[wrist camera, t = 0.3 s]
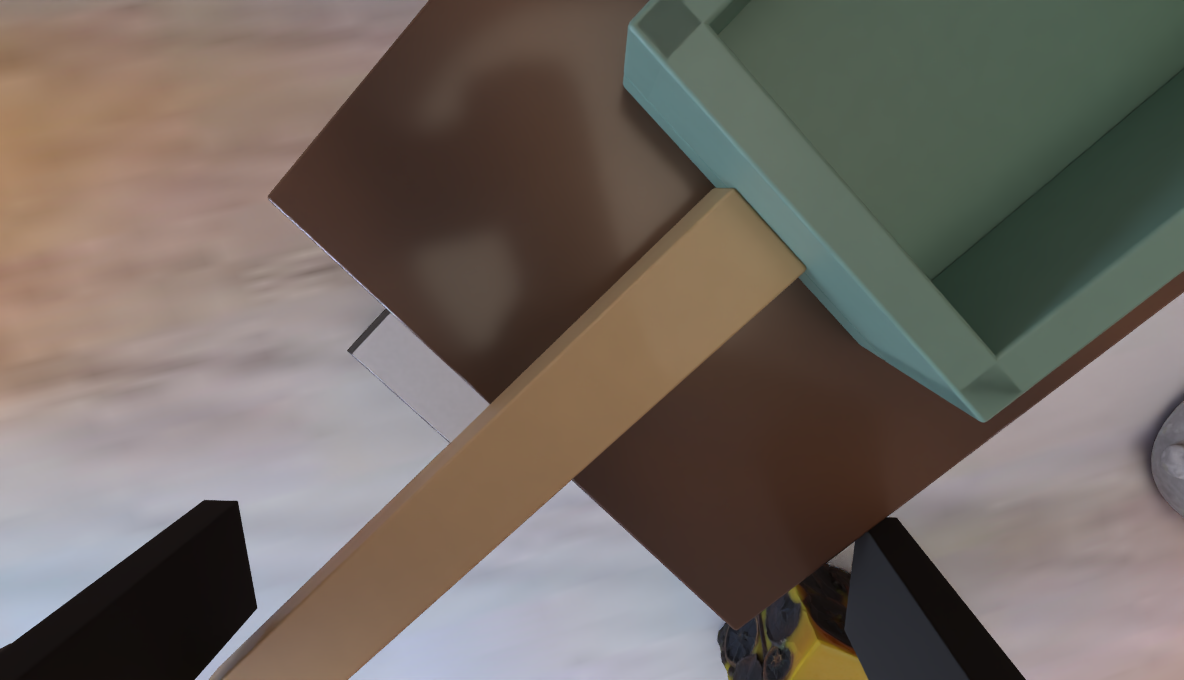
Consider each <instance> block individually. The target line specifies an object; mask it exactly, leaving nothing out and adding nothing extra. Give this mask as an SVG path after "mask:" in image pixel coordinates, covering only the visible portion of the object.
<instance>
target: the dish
mask: <svg viewBox="0 0 1184 680" xmlns="http://www.w3.org/2000/svg"><path fill="white" fill-rule="evenodd" d="M1151 464H1152V474H1153V477H1154V480H1155V483H1156V486H1157V488H1158V490H1159V491H1160V493H1161V494H1162V496H1163V497H1164V499H1165V500H1166V501H1167V502H1168V503H1169V505H1170V506H1171V507H1172V508H1173V509H1174V510H1175V511H1176V512H1178V513H1179V514H1180V515H1181V516H1182V517H1183V518H1184V400H1183V402H1182V403H1181V404H1180V405H1179V406H1178V407H1177V408H1176V409H1175V410H1174V411H1173V412H1172V414H1171V415H1170V416H1169V417H1168V419H1167V420H1166V421H1165V423H1164V424H1163V426H1162V428H1161V430H1160V431H1159V433H1158V435H1157V438H1156V440H1155V442H1154V445H1153V450H1152V456H1151Z"/></svg>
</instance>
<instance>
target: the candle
mask: <svg viewBox="0 0 1184 680" xmlns="http://www.w3.org/2000/svg"><path fill="white" fill-rule="evenodd" d="M850 579H851V575H850V574H848V573H846V572H844V571H842V570H840V569H837V568H833V567H830V566H829V565H828V564H824V565H823V566H821V567H820V568H819V569H818V570H816V571H815V572H814V573H812V574H811V575H810V576H808V577H807V578H806V579H804V580H803V581H802V582H800V583H799V584H798V585H796V586H795V587H794V588H792V589H791V590H790V591H789V592H787V593H786V594H785V595H783V596H782V597H781V598H779V599H778V600H777V601H775V602H774V603H773V604H771V605H770V606H769V607H767V608H766V609H765V610H763V611H762V612H761V613H759V614H758V615H757V616H756V617H754V618H753V619H752V620H750V621H749V622H748V623H746V624H745V625H744V626H742V627H741V628H740V629H738V630H734V629H733V628H731V627H730V626H729V625H728V624H727V623H725V625H724V627H723V628H722V629H721V630H720V631H719V633H718V643H719V645H720V649H721V659H722V663H723V664H724V666H725V668H726V670H727V674H728V679H729V680H868V678H867V676H866V674H865V672H864V670H863V667H862V665H861V663H860V661H859V659H858V657H857V655H856V653H855V651H854V649H853V647H852V645H851V642H850V640H849V638H848V636H847V634H846V632H845V630H844V628H845V620H846V612H847V603H848V595H849V587H850Z"/></svg>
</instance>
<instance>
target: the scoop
mask: <svg viewBox="0 0 1184 680" xmlns="http://www.w3.org/2000/svg"><path fill="white" fill-rule="evenodd" d="M623 85H624V87H625V89H626V90H627V91H628V92H629V93H630V94H631V95H632V96H633V97H634V98H635V99H636V101H637V102H638V103H639V104H640V105H641V106H642V107H643V108H644V109H645V110H646V111H647V113H648V114H649V115H650V116H651V117H652V118H653V119H654V120H655V121H656V122H657V124H658V125H659V126H660V127H661V128H662V129H663V130H664V131H665V132H666V133H667V134H668V136H669V137H670V138H671V139H672V140H673V141H674V142H675V143H676V144H677V145H678V146H679V148H680V149H681V150H682V151H683V152H684V153H685V154H686V155H687V156H688V157H689V159H690V160H691V161H692V162H693V163H694V164H695V165H696V166H697V167H698V168H699V169H700V171H701V172H702V173H703V174H704V175H705V176H706V177H707V178H708V179H709V180H710V181H711V183H712V184H713V185H714V186H715V187H716V188H714V189H712V190H711V191H710V192H709V193H708V194H707V195H706V196H705V197H704V198H703V199H702V200H701V201H700V202H699V203H697V204H696V205H695V206H694V207H693V208H692V209H691V210H690V211H689V212H688V213H687V214H686V215H685V216H684V217H683V218H682V219H681V220H680V221H679V222H678V223H677V224H676V225H675V226H674V227H673V228H672V229H671V230H670V231H669V232H668V233H667V234H665V235H664V236H663V237H662V238H661V239H660V240H659V241H658V242H657V243H656V244H655V245H654V246H653V247H652V248H651V249H650V250H649V251H648V252H647V253H646V254H645V255H644V256H643V257H642V258H641V259H640V260H639V261H638V262H637V263H636V264H635V265H633V266H632V267H631V268H630V269H629V270H628V271H627V272H626V273H625V274H624V275H623V276H622V277H621V278H620V279H619V280H618V281H617V282H616V283H615V284H614V285H613V286H612V287H611V288H610V289H609V290H608V291H607V292H606V293H605V294H604V295H603V296H601V297H600V298H599V299H598V300H597V301H596V302H595V303H594V304H593V305H592V306H591V307H590V308H589V309H588V310H587V311H586V312H585V313H584V314H583V315H582V316H581V317H580V318H579V319H578V320H577V321H576V322H575V323H574V324H573V325H572V326H571V327H569V328H568V329H567V330H566V331H565V332H564V333H563V334H562V335H561V336H560V337H559V338H558V339H557V340H556V341H555V342H554V343H553V344H552V345H551V346H550V347H549V348H548V349H547V350H546V351H545V352H544V353H543V354H542V355H541V356H540V357H539V358H538V359H536V360H535V361H534V362H533V363H532V364H531V365H530V366H529V367H528V368H527V369H526V370H525V371H524V372H523V373H522V374H521V375H520V376H519V377H518V378H517V379H516V380H515V381H514V382H513V383H512V384H511V385H510V386H509V387H508V388H507V389H506V390H504V391H503V392H502V393H501V394H500V395H499V396H498V397H497V398H496V399H495V400H494V401H493V402H492V403H491V404H490V405H489V406H488V407H487V408H486V409H485V410H484V411H483V412H482V413H481V414H480V415H479V416H478V417H477V418H476V419H475V420H474V421H472V422H471V423H470V424H469V425H468V426H467V427H466V428H465V429H464V430H463V431H462V432H461V433H460V434H459V435H458V436H457V437H456V438H455V439H454V440H453V441H452V442H451V443H450V444H449V445H448V446H447V447H446V448H445V449H444V450H443V451H442V452H440V453H439V454H438V455H437V456H436V457H435V458H434V459H433V460H432V461H431V462H430V463H429V464H428V465H427V466H426V467H425V468H424V469H423V470H422V471H421V472H420V473H419V474H418V475H417V476H416V477H415V478H414V479H413V480H412V481H411V482H410V483H409V484H407V485H406V486H405V487H404V488H403V489H402V490H401V491H400V492H399V493H398V494H397V495H396V496H395V497H394V498H393V499H392V500H391V501H390V502H389V503H388V504H387V505H386V506H385V507H384V508H383V509H382V510H381V511H380V512H379V513H378V514H377V515H375V516H374V517H373V518H372V519H371V520H370V521H369V522H368V523H367V524H366V525H365V526H364V527H363V528H362V529H361V530H360V531H359V532H358V533H357V534H356V535H355V536H354V537H353V538H352V539H351V540H350V541H349V542H348V543H347V544H346V545H345V546H343V547H342V548H341V549H340V550H339V551H338V552H337V553H336V554H335V555H334V556H333V557H332V558H331V559H330V560H329V561H328V562H327V563H326V564H325V565H324V566H323V567H322V568H321V569H320V570H319V571H318V572H317V573H316V574H315V575H314V576H313V577H311V578H310V579H309V580H308V581H307V582H306V583H305V584H304V585H303V586H302V587H301V588H300V589H299V590H298V591H297V592H296V593H295V594H294V595H293V596H292V597H291V598H290V599H289V600H288V601H287V602H286V603H285V604H284V605H283V606H282V607H281V608H280V609H278V610H277V611H276V612H275V613H274V614H273V615H272V616H271V617H270V618H269V619H268V620H267V621H266V622H265V623H264V624H263V625H262V626H261V627H260V628H259V629H258V630H257V631H256V632H255V633H254V634H253V635H252V636H251V637H250V638H249V639H248V640H246V641H245V642H244V643H243V644H242V645H241V646H240V647H239V648H238V649H237V650H236V651H235V652H234V653H233V654H232V655H231V656H230V657H229V658H228V659H227V660H226V661H225V662H224V663H223V664H222V665H221V666H220V667H219V668H218V669H217V670H216V671H215V672H214V674H213V675H212V676H211V677H210V679H209V680H348V679H349V678H350V677H351V676H352V675H354V674H355V673H356V672H357V671H358V670H359V669H360V668H361V667H363V666H364V665H365V664H366V663H367V662H368V661H369V660H370V659H372V658H373V657H374V656H375V655H376V654H377V653H378V652H379V651H380V650H382V649H383V648H384V647H385V646H386V645H387V644H388V643H389V642H391V641H392V640H393V639H394V638H395V637H396V636H397V635H398V634H399V633H401V632H402V631H403V630H404V629H405V628H406V627H407V626H408V625H410V624H411V623H412V622H413V621H414V620H415V619H416V618H417V617H419V616H420V615H421V614H422V613H423V612H424V611H425V610H426V609H427V608H429V607H430V606H431V605H432V604H433V603H434V602H435V601H436V600H438V599H439V598H440V597H441V596H442V595H443V594H444V593H445V592H447V591H448V590H449V589H450V588H451V587H452V586H453V585H454V584H455V583H457V582H458V581H459V580H460V579H461V578H462V577H463V576H464V575H466V574H467V573H468V572H469V571H470V570H471V569H472V568H473V567H475V566H476V565H477V564H478V563H479V562H480V561H481V560H482V559H483V558H485V557H486V556H487V555H488V554H489V553H490V552H491V551H492V550H494V549H495V548H496V547H497V546H498V545H499V544H500V543H501V542H502V541H504V540H505V539H506V538H507V537H508V536H509V535H510V534H511V533H513V532H514V531H515V530H516V529H517V528H518V527H519V526H520V525H522V524H523V523H524V522H525V521H526V520H527V519H528V518H529V517H530V516H532V515H533V514H534V513H535V512H536V511H537V510H538V509H539V508H541V507H542V506H543V505H544V504H545V503H546V502H547V501H548V500H550V499H551V498H552V497H553V496H554V495H555V494H556V493H557V492H558V491H560V490H561V489H562V488H563V487H564V486H565V485H566V484H567V483H569V482H570V481H571V480H572V479H573V478H574V477H575V476H576V475H577V474H579V473H580V472H581V471H582V470H583V469H584V468H585V467H586V466H588V465H589V464H590V463H591V462H592V461H593V460H594V459H595V458H597V457H598V456H599V455H600V454H601V453H602V452H603V451H604V450H605V449H607V448H608V447H609V446H610V445H611V444H612V443H613V442H614V441H616V440H617V439H618V438H619V437H620V436H621V435H622V434H623V433H625V432H626V431H627V430H628V429H629V428H630V427H631V426H632V425H633V424H635V423H636V422H637V421H638V420H639V419H640V418H641V417H642V416H644V415H645V414H646V413H647V412H648V411H649V410H650V409H651V408H653V407H654V406H655V405H656V404H657V403H658V402H659V401H660V400H661V399H663V398H664V397H665V396H666V395H667V394H668V393H669V392H670V391H672V390H673V389H674V388H675V387H676V386H677V385H678V384H679V383H680V382H682V381H683V380H684V379H685V378H686V377H687V376H688V375H689V374H691V373H692V372H693V371H694V370H695V369H696V368H697V367H698V366H700V365H701V364H702V363H703V362H704V361H705V360H706V359H707V358H708V357H710V356H711V355H712V354H713V353H714V352H715V351H716V350H717V349H719V348H720V347H721V346H722V345H723V344H724V343H725V342H726V341H728V340H729V339H730V338H731V337H732V336H733V335H734V334H735V333H736V332H738V331H739V330H740V329H741V328H742V327H743V326H744V325H745V324H747V323H748V322H749V321H750V320H751V319H752V318H753V317H754V316H755V315H757V314H758V313H759V312H760V311H761V310H762V309H763V308H764V307H766V306H767V305H768V304H769V303H770V302H771V301H772V300H773V299H775V298H776V297H777V296H778V295H779V294H780V293H781V292H782V291H783V290H785V289H786V288H787V287H788V286H789V285H790V284H791V283H792V282H794V281H795V280H796V279H797V278H799V279H800V280H801V281H802V282H803V283H804V284H805V285H806V286H807V288H808V289H809V290H810V291H811V292H812V293H813V294H814V295H815V296H816V297H817V298H818V300H819V301H820V302H821V303H822V304H823V305H824V306H825V307H826V308H827V309H828V310H829V312H830V313H831V314H832V315H833V316H834V317H835V318H836V319H837V320H838V321H839V323H840V324H841V325H842V326H843V327H844V328H845V329H846V330H847V331H848V332H849V333H850V335H851V336H852V337H853V338H854V339H855V340H856V341H857V342H858V343H859V344H860V345H861V346H862V347H864V348H866V349H867V350H869V351H870V352H872V353H873V354H875V355H877V356H878V357H880V358H881V359H883V360H885V361H886V362H887V363H889V364H890V365H892V366H894V367H895V368H897V369H898V370H900V371H901V372H903V373H905V374H906V375H908V376H909V377H911V378H912V379H914V380H915V381H917V382H919V383H920V384H922V385H923V386H925V387H926V388H928V389H930V390H931V391H933V392H934V393H936V394H937V395H939V396H941V397H942V398H944V399H945V400H947V401H948V402H950V403H952V404H953V405H955V406H956V407H958V408H959V409H961V410H963V411H964V412H966V413H967V414H969V415H970V416H972V417H974V418H975V419H977V420H978V421H980V422H987V421H988V420H990V419H991V418H992V417H994V416H995V415H996V414H997V413H999V412H1000V411H1001V410H1003V409H1004V408H1005V407H1007V406H1008V405H1009V404H1011V403H1012V402H1013V401H1014V400H1016V399H1017V398H1018V397H1020V396H1021V395H1022V394H1024V393H1025V392H1026V391H1027V390H1029V389H1030V388H1031V387H1033V386H1034V385H1035V384H1037V383H1038V382H1039V381H1041V380H1042V379H1043V378H1044V377H1046V376H1047V375H1048V374H1050V373H1051V372H1052V371H1054V370H1055V369H1056V368H1058V367H1059V366H1060V365H1061V364H1063V363H1064V362H1065V361H1067V360H1068V359H1069V358H1071V357H1072V356H1073V355H1074V354H1076V353H1077V352H1078V351H1080V350H1081V349H1082V348H1084V347H1085V346H1086V345H1088V344H1089V343H1090V342H1091V341H1093V340H1094V339H1095V338H1097V337H1098V336H1099V335H1101V334H1102V333H1103V332H1105V331H1106V330H1107V329H1108V328H1110V327H1111V326H1112V325H1114V324H1115V323H1116V322H1118V321H1119V320H1120V319H1121V318H1123V317H1124V316H1125V315H1127V314H1128V313H1129V312H1131V311H1132V310H1133V309H1135V308H1136V307H1137V306H1138V305H1140V304H1141V303H1142V302H1144V301H1145V300H1146V299H1148V298H1149V297H1150V296H1152V295H1153V294H1154V293H1155V292H1157V291H1158V290H1159V289H1161V288H1162V287H1163V286H1165V285H1166V284H1167V283H1168V282H1170V281H1171V280H1172V279H1174V278H1175V277H1176V276H1178V275H1179V274H1180V273H1182V272H1183V271H1184V0H649V2H648V3H647V4H646V5H645V6H644V7H643V8H642V9H641V10H640V11H639V12H638V13H637V15H636V16H635V17H634V18H633V19H632V20H631V21H630V23H629V25H628V32H627V42H626V53H625V63H624V77H623Z"/></svg>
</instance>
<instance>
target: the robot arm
mask: <svg viewBox="0 0 1184 680" xmlns="http://www.w3.org/2000/svg"><path fill="white" fill-rule="evenodd" d="M256 609H257V604H256V598H255V593H254V587H253V582H252V576H251V571H250V565H249V560H248V555H247V549H246V544H245V538H244V533H243V527H242V522H241V516H240V511H239V505H238V501H217V500H204V501H202V502H201V503H200V504H198V505H197V506H196V507H194V508H193V509H192V510H190V511H189V512H188V513H186V514H185V515H184V516H182V517H181V518H179V519H178V520H177V521H175V522H174V523H173V524H171V525H170V526H169V527H167V528H166V529H165V530H163V531H162V532H161V533H159V534H158V535H157V536H155V537H154V538H153V539H151V540H150V541H149V542H147V543H146V544H145V545H143V546H142V547H141V548H139V549H138V550H137V551H135V552H134V553H133V554H131V555H130V556H128V557H127V558H126V559H124V560H123V561H122V562H120V563H119V564H118V565H116V566H115V567H114V568H112V569H111V570H110V571H108V572H107V573H106V574H104V575H103V576H102V577H100V578H99V579H98V580H96V581H95V582H94V583H92V584H91V585H90V586H88V587H87V588H86V589H84V590H83V591H81V592H80V593H79V594H77V595H76V596H75V597H73V598H72V599H71V600H69V601H68V602H67V603H65V604H64V605H63V606H61V607H60V608H59V609H57V610H56V611H55V612H53V613H52V614H51V615H49V616H48V617H47V618H45V619H44V620H43V621H41V622H40V623H39V624H37V625H36V626H34V627H33V628H32V629H30V630H29V631H28V632H26V633H25V634H24V635H22V636H21V637H20V638H18V639H17V640H16V641H14V642H13V643H12V644H8V645H7V646H5V647H3V648H1V649H0V680H195V679H196V678H197V676H198V675H199V674H200V673H201V672H202V671H203V670H204V668H205V667H206V666H207V665H208V664H209V663H210V662H211V660H212V659H213V658H214V657H215V656H216V655H217V654H218V652H219V651H220V650H221V649H222V648H223V647H224V646H225V644H226V643H227V642H228V641H229V640H230V639H231V638H232V636H233V635H234V634H235V633H236V632H237V631H238V630H239V628H240V627H241V626H242V625H243V624H244V623H245V622H246V620H247V619H248V618H249V617H250V616H251V615H252V614H253V612H254V611H255V610H256ZM844 630H845V632H846V634H847V636H848V638H849V640H850V642H851V645H852V647H853V649H854V651H855V653H856V655H857V657H858V659H859V661H860V663H861V665H862V667H863V670H864V672H865V674H866V676H867V678H868V680H1026V679H1025V678H1024V677H1023V675H1022V674H1021V673H1020V672H1019V670H1018V669H1017V668H1016V667H1015V665H1014V664H1013V663H1012V662H1011V660H1010V659H1009V658H1008V657H1007V655H1006V654H1005V653H1004V652H1003V650H1002V649H1001V648H1000V647H999V645H998V644H997V643H996V642H995V640H994V639H993V638H992V637H991V635H990V634H989V633H988V632H987V630H986V629H985V628H984V627H983V625H982V624H981V623H980V622H979V620H978V619H977V618H976V616H975V615H974V614H973V613H972V611H971V610H970V609H969V608H968V606H967V605H966V604H965V603H964V601H963V600H962V599H961V598H960V596H959V595H958V594H957V593H956V591H955V590H954V589H953V588H952V586H951V585H950V584H949V583H948V581H947V580H946V579H945V578H944V576H943V575H942V574H941V573H940V571H939V570H938V569H937V568H936V566H935V565H934V564H933V563H932V561H931V560H930V559H929V558H928V556H927V555H926V554H925V553H924V551H923V550H922V549H921V548H920V546H919V545H918V544H917V543H916V541H915V540H914V539H913V537H912V536H911V535H910V534H909V532H908V531H907V530H906V529H905V527H904V526H903V525H902V524H901V522H900V521H899V520H898V519H897V518H890V517H886V518H885V519H884V520H882V521H881V522H880V523H878V524H877V525H876V526H874V527H873V528H872V529H870V530H869V531H868V532H866V533H865V534H864V535H862V536H861V537H860V538H858V539H857V540H856V541H855V546H854V554H853V563H852V571H851V579H850V587H849V595H848V603H847V612H846V620H845V628H844Z"/></svg>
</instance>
